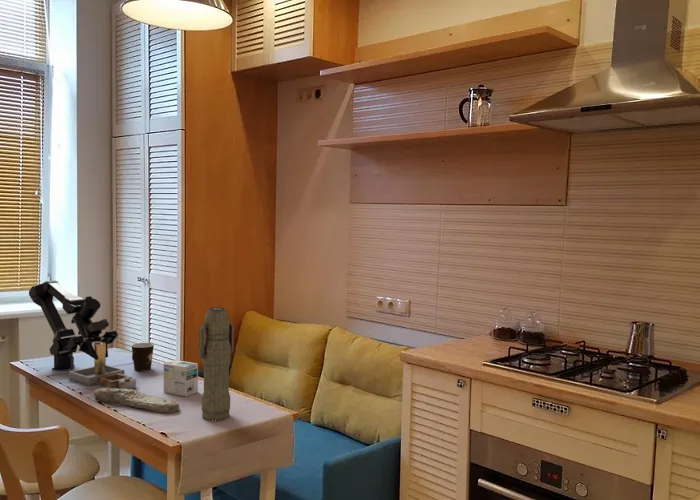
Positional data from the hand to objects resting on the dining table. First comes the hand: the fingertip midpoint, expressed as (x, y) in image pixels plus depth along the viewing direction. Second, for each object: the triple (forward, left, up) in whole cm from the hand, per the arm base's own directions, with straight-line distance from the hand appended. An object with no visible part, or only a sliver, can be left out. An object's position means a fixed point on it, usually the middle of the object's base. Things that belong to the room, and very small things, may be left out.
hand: (102, 358), depth 236 cm
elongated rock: (+24, -25, -9) cm, 36 cm away
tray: (-3, +2, -8) cm, 9 cm away
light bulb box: (+34, -10, -9) cm, 37 cm away
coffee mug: (+8, +16, -9) cm, 20 cm away
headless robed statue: (+54, -33, -9) cm, 64 cm away
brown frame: (+10, -6, -8) cm, 14 cm away
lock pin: (-1, +1, -7) cm, 7 cm away
